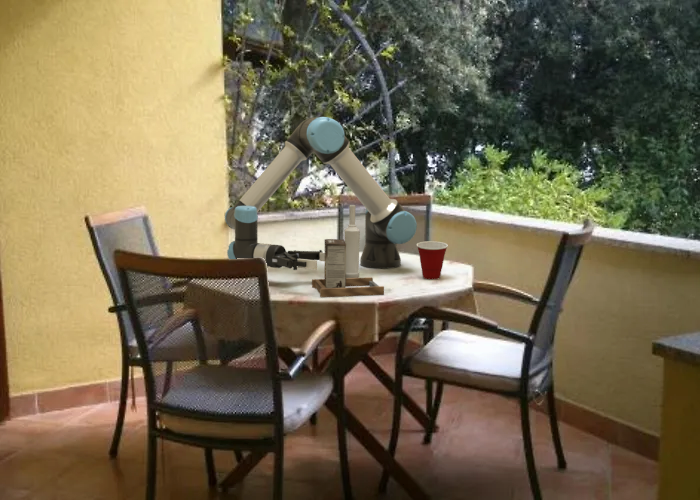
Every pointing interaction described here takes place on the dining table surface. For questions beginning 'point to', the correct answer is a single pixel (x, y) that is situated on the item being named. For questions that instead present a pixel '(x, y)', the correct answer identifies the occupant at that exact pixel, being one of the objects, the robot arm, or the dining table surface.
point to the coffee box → (335, 263)
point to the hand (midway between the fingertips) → (327, 261)
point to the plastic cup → (431, 258)
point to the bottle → (352, 246)
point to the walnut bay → (349, 288)
